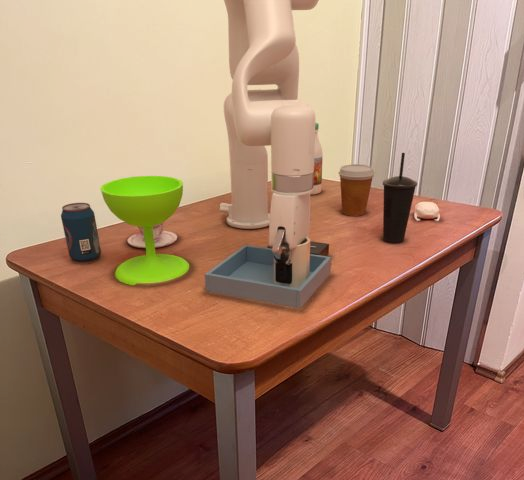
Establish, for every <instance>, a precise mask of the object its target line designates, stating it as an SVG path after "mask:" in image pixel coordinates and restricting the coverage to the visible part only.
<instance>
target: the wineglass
mask: <svg viewBox="0 0 524 480" xmlns="http://www.w3.org/2000/svg"><path fill="white" fill-rule="evenodd" d="M99 189H100V192H101V195H102V198H103V201H104V203H105V204H106V206H107V208H108V209H109V211H110V212H111V213H112V214H113V215H114V216H115V217H116V218H117V219H119V220H120V221H122V222H124V223H126V224H128V225H131V226H134V227H138V226H139V227H143V232H144V240H145V247H146V248H145V254H142V255H139V256H134V257H131V258H128V259H127V260H125V261H123V262H121V263H120V264H119V265H118V266H117V267H116V270H115V272H114V276H115V279H116V280H117V281H119V282H121V283H123V284H125V285H130V286H136V285H138V284H155V283H157V284H158V283H163V282H167V281H171V280H174V279H177V278H179V277H182V276H183V275H185V274H187V272H188V271H189V269H190V264H189V262H188V261H187V260H186V259H185V258H183V257H181V256H177V255H174V254H168V253H156V248H155V245H154V237H153V228H152V226H155V225H157V224H160V223H163V224H164V222H167V220H168V219H169V218H171V217H172V216H173V215H174V214H175V213H176V211H177V210H178V208H179V207H180V204H181V202H182V198H183V194H184V193H183V192H184V182H183V181H182V179H179V178H176V177H172V176H167V175H166V176H165V175H138V176H129V177H122V178H118V179H113V180H110V181H107V182H106V183H104V184H102V185H101V187H100V188H99Z"/></svg>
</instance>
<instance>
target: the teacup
mask: <svg viewBox="0 0 524 480" xmlns="http://www.w3.org/2000/svg"><path fill="white" fill-rule="evenodd" d="M163 224H164V222H163V223H160V224H157V225H155V226H152V228H153V237H154V245H155V249H157V248H162V247H166V246H169V245H172V244H174V243H175V242H177V240H178V235H177V234H176V233H175V232H172V231H169V230H163V229H164V225H163ZM137 228H138V230H139V232H137V233H134V234H132V235H130V236H129V237H128V238H127V240H126V241H127V244H128V245H129V246H131V247H135V248H139V249H146V247H145V240H144V232H143V227H139V226H137Z"/></svg>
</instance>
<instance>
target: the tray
mask: <svg viewBox="0 0 524 480" xmlns="http://www.w3.org/2000/svg"><path fill="white" fill-rule="evenodd" d="M331 273H332V256H329V255H327V256H321V255H314V254H310V266H309V277H308V278H307V279H306V281H305V282H304V283H303V284H302V285H301V286H300V287H299V288H293V287H287V286H281V285H275V284H274V283H273V253H272V248H267V247H265V246H257V245H250V244H244V245H242V246H241V247H240V248H238V249H237V250H236V251H234V252H233V253H231V254H229V256H228V257H226V258H225V259H224V260H222V261H220V263H218V264H216V265H215V266H213V267H212V268H211V269H210V270H208V271H207V272H206V273H204V284H205V292H207V293H214V294H218V295H225V296H229V297H230V296H231V297H235V298H240V299H245V300H252V301H257V302H261V303H268V304H273V305H279V306H284V307H290V308H294V309H295V308H296V309H302V307H304V305H305V304H306V303H307V301H308V300H309V299H311V297H312V296H313V295H314V294H315V292H317V290H318V289H319V288H320V287H321V285H322V284H323V283H324V282H325V281H326V280H327V279H328V277H329V276H330V275H331Z"/></svg>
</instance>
